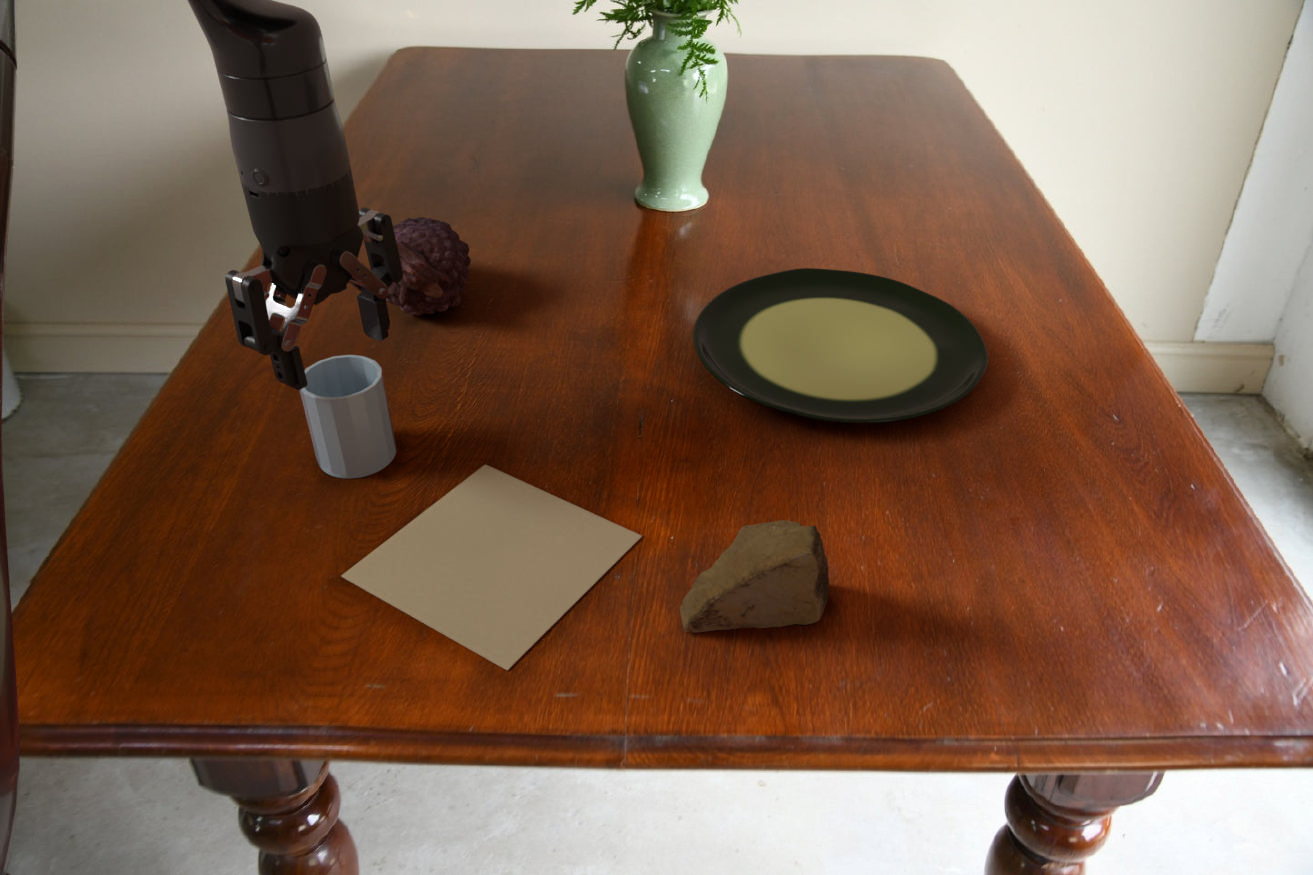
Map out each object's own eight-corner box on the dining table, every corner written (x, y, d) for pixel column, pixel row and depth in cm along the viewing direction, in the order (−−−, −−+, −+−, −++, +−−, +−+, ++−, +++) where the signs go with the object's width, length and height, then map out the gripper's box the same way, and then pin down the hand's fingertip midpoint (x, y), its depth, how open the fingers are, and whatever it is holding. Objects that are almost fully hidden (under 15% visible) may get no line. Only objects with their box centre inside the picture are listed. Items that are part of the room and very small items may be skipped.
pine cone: (354, 274, 113) (387, 189, 111) (439, 306, 117) (472, 225, 115) (360, 310, 97) (398, 212, 96) (458, 346, 101) (496, 253, 99)
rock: (655, 638, 68) (805, 659, 65) (666, 509, 68) (816, 524, 65) (701, 617, 78) (832, 635, 75) (710, 505, 78) (842, 518, 75)
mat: (507, 670, 69) (507, 669, 69) (341, 576, 76) (340, 575, 76) (642, 536, 79) (642, 535, 79) (485, 465, 86) (485, 464, 86)
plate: (660, 305, 108) (660, 284, 107) (903, 274, 114) (907, 254, 112) (744, 464, 86) (746, 441, 85) (1039, 417, 92) (1046, 394, 91)
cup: (355, 488, 84) (337, 408, 79) (301, 461, 87) (281, 382, 82) (412, 448, 88) (398, 370, 83) (359, 423, 91) (342, 346, 86)
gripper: (335, 125, 78) (370, 310, 88) (173, 188, 69) (232, 387, 79) (406, 146, 75) (434, 335, 85) (246, 215, 66) (299, 419, 75)
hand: (337, 360), depth 82 cm, fingers open, 8 cm apart
